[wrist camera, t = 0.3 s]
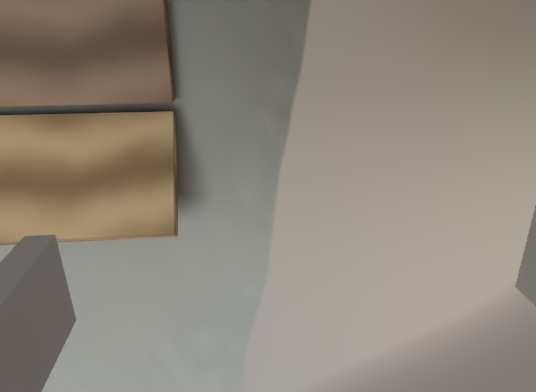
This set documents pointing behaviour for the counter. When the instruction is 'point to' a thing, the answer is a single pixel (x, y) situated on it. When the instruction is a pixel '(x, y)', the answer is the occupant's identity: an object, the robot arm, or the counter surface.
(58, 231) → the oak plank
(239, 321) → the counter surface
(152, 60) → the walnut board
